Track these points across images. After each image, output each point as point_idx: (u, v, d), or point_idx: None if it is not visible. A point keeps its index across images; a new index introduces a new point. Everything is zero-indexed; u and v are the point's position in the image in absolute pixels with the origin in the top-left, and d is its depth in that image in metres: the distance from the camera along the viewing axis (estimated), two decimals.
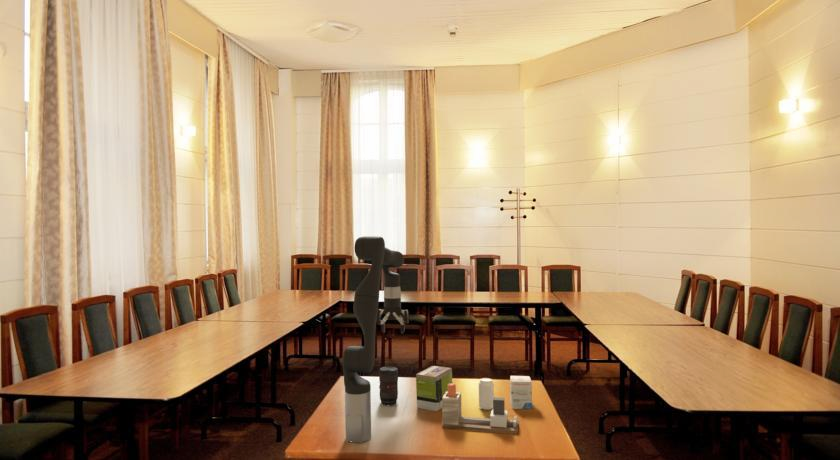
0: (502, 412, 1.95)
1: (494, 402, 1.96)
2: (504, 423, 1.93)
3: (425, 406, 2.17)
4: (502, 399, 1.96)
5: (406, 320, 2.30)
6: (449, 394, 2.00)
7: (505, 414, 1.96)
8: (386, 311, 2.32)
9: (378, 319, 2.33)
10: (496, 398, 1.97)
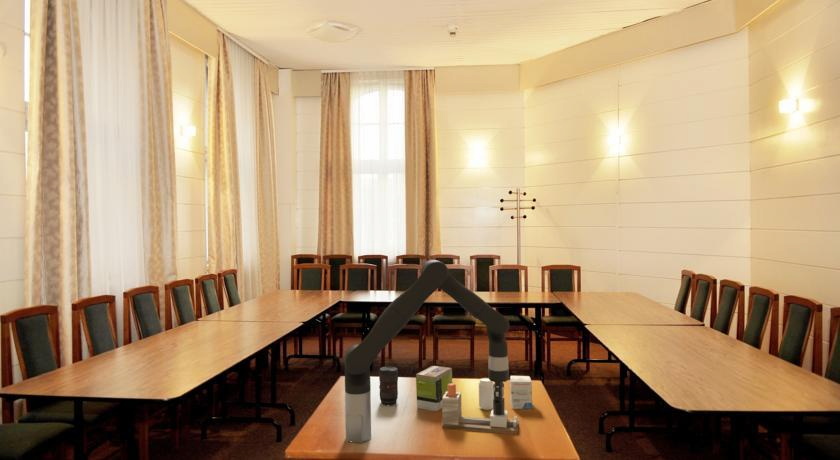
0: (502, 412, 1.95)
1: None
2: (504, 423, 1.93)
3: (425, 406, 2.17)
4: (502, 399, 1.96)
5: None
6: (449, 394, 2.00)
7: (505, 414, 1.96)
8: (501, 388, 1.94)
9: (500, 400, 1.93)
10: None
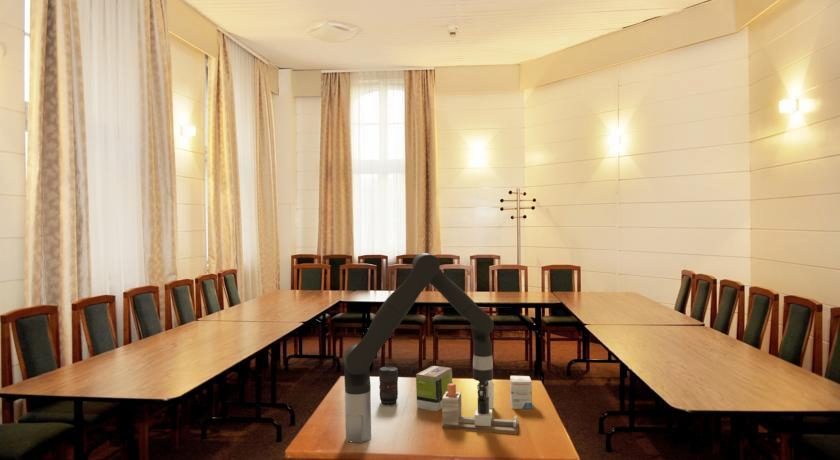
0: (486, 411, 1.97)
1: None
2: (488, 422, 1.94)
3: (425, 406, 2.17)
4: (486, 398, 1.98)
5: None
6: (449, 394, 2.00)
7: (489, 413, 1.97)
8: (485, 387, 1.95)
9: (484, 399, 1.94)
10: None
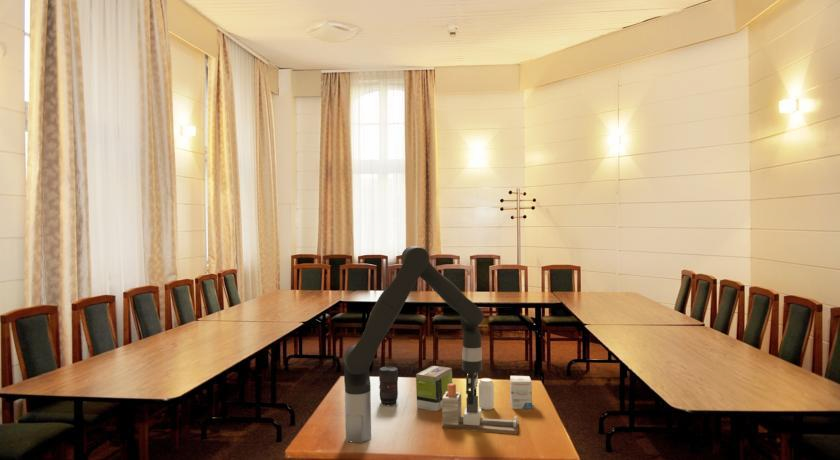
0: (475, 410, 1.98)
1: None
2: (477, 421, 1.95)
3: (425, 406, 2.17)
4: (475, 397, 1.99)
5: None
6: (449, 394, 2.00)
7: (478, 412, 1.98)
8: (474, 377, 1.97)
9: (472, 389, 1.93)
10: None
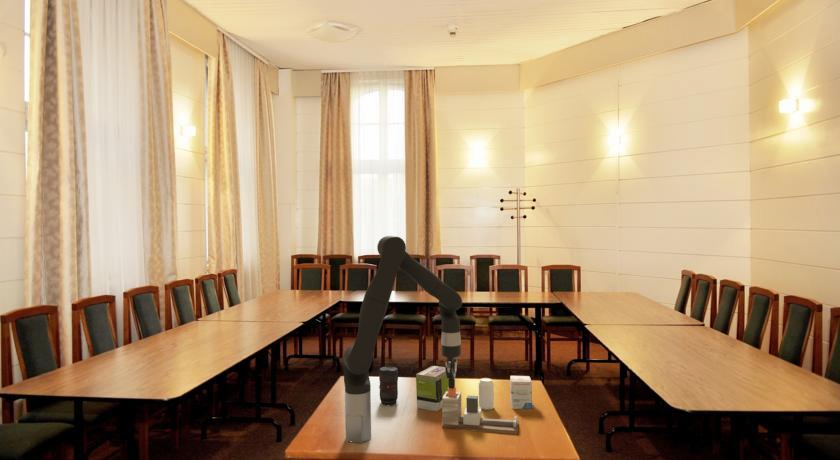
0: (475, 410, 1.98)
1: (467, 400, 1.98)
2: (477, 421, 1.95)
3: (425, 406, 2.17)
4: (475, 397, 1.99)
5: None
6: None
7: (478, 412, 1.98)
8: (453, 364, 1.98)
9: (453, 375, 1.98)
10: (469, 396, 2.00)
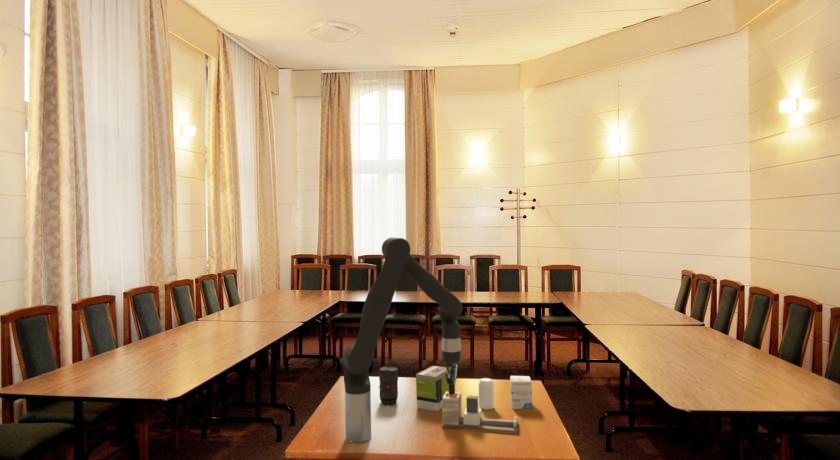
0: (475, 410, 1.98)
1: (467, 400, 1.98)
2: (477, 421, 1.95)
3: (425, 406, 2.17)
4: (475, 397, 1.99)
5: None
6: None
7: (478, 412, 1.98)
8: (453, 370, 1.98)
9: (453, 380, 1.98)
10: (469, 396, 2.00)
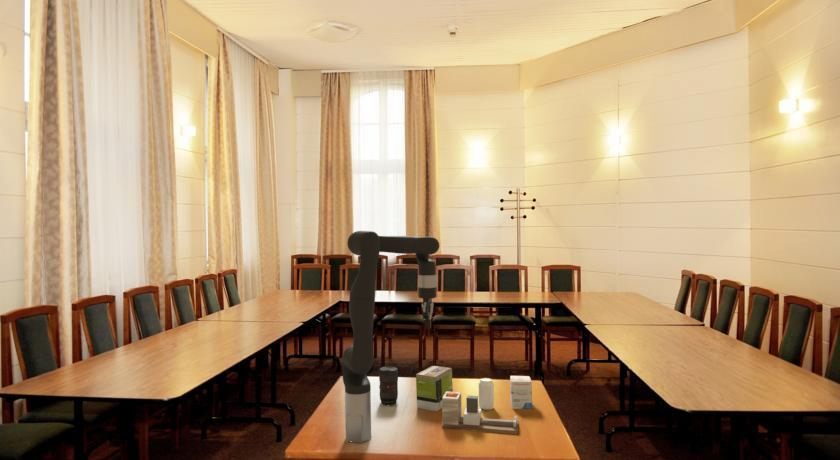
0: (475, 410, 1.98)
1: (467, 400, 1.98)
2: (477, 421, 1.95)
3: (425, 406, 2.17)
4: (475, 397, 1.99)
5: (432, 313, 2.14)
6: None
7: (478, 412, 1.98)
8: (428, 305, 2.08)
9: (428, 315, 2.08)
10: (469, 396, 2.00)
